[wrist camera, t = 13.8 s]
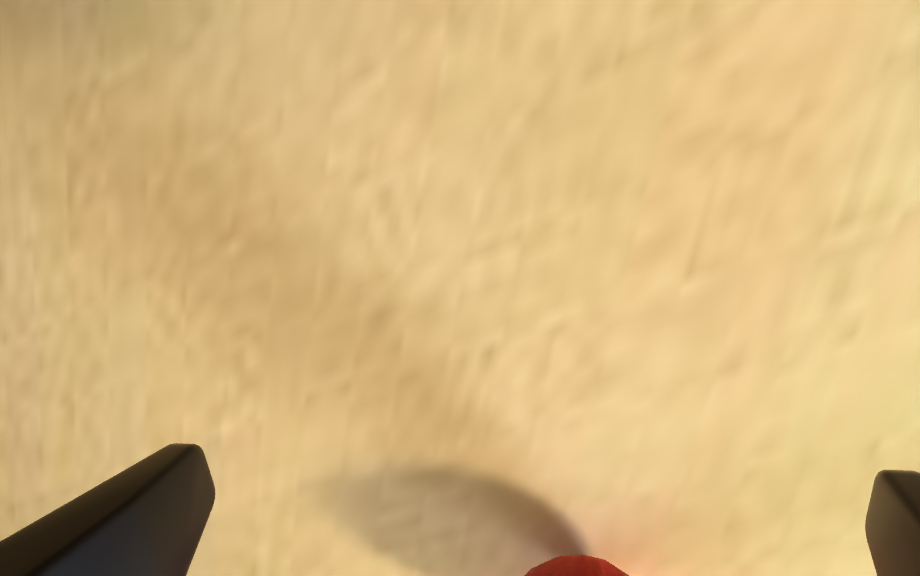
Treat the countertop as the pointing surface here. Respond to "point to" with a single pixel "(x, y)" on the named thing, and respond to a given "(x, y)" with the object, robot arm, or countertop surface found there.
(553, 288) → the countertop surface
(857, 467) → the countertop surface
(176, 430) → the countertop surface
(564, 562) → the onion
